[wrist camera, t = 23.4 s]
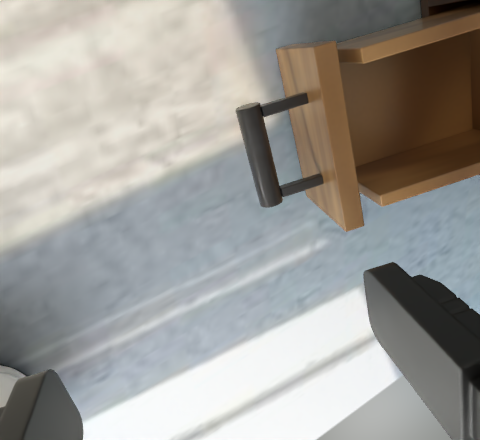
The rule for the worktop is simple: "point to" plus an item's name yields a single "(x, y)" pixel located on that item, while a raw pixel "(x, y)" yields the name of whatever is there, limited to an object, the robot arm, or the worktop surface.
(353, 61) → the drawer
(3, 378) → the flower vase
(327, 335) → the worktop surface
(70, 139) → the worktop surface
